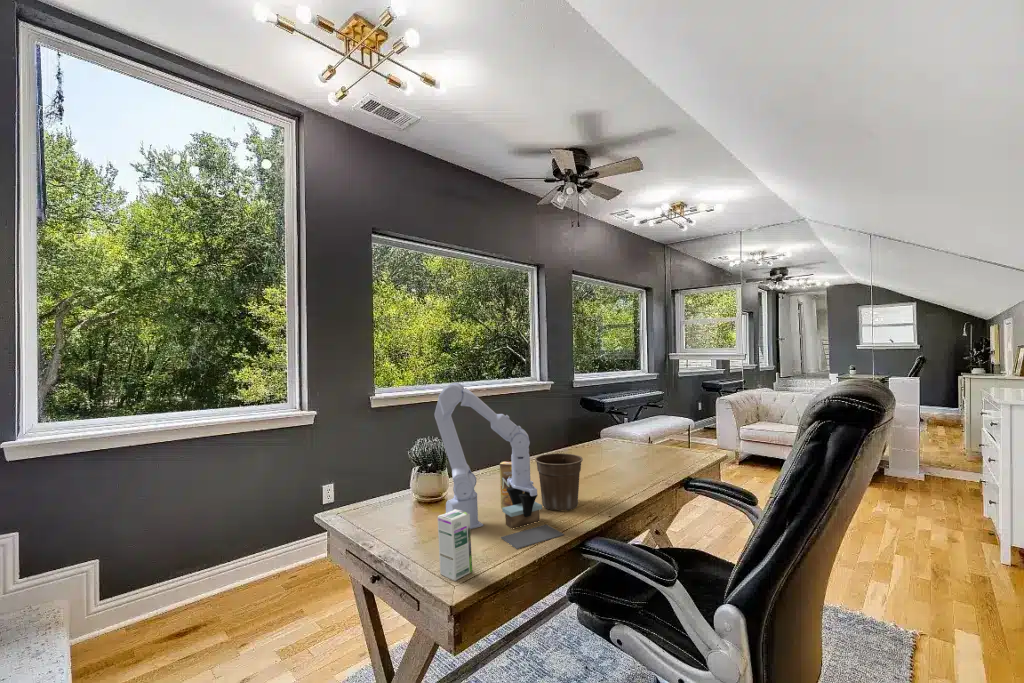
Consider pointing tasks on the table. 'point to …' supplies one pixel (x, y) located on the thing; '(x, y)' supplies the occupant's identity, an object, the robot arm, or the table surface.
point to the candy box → (505, 483)
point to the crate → (522, 519)
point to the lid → (519, 509)
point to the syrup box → (454, 544)
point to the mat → (531, 536)
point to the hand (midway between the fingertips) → (522, 513)
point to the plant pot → (559, 480)
